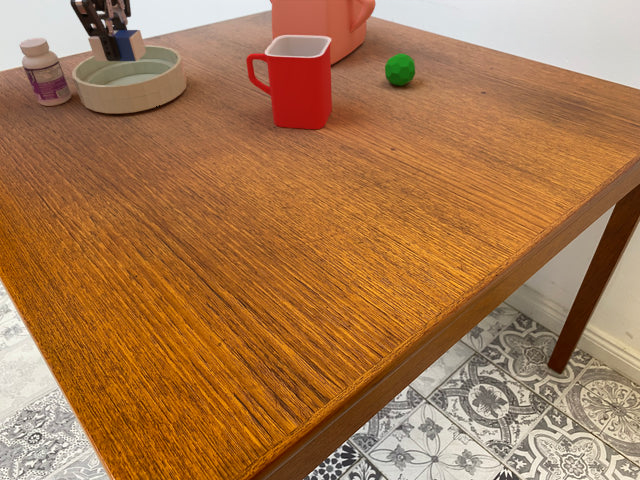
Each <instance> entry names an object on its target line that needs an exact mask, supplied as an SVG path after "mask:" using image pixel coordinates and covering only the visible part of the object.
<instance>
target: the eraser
mask: <svg viewBox="0 0 640 480" xmlns="http://www.w3.org/2000/svg"><path fill="white" fill-rule="evenodd" d="M114 35H115V37H116V41H117V44H118V48H119V51H120V54H121V59H120V60H119V61H138V60H139V59H140V58H141V57H142V56H143V55H144V54H145V53H146V50H145V47H144V45H145V43H144V40H143V36H142V33H141V30H139V29H127V30H119V31H114ZM87 40H88V43H89V46H90V49H91V52H92V54H93V55H92V56H94V58H95V61H108V60H107V59H106V56H105V54H104V51H103V47H102V44H101V41H100V39H99V37H90V36H88V38H87Z"/></svg>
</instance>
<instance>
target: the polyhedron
mask: <svg viewBox="0 0 640 480" xmlns="http://www.w3.org/2000/svg"><path fill="white" fill-rule="evenodd" d="M384 73H385V79H386V80H387V81H388V83H390V84H391V85H393V86H397V87H402V86H404V85H406V84H408V83H409V82H411V81H413V79H414V77H415V75H416V64H415V60H414V59H413V58H412V57H411V56H410V55H408V54H407V53H401V52H400V53H397V54H395V55H393V56H391V57H390V58H388V59H387V61H386V63H385V65H384Z"/></svg>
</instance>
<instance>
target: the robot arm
mask: <svg viewBox="0 0 640 480" xmlns="http://www.w3.org/2000/svg"><path fill="white" fill-rule="evenodd" d="M69 4H70V7H71V8H72V10H73V11H74V13H75V15H76V17H77V19H78V20H79V22H80V24H81V25H82V27H83V29H84V30H85V32H86V34H87V35H88V37H99V39H100V41H101V44H102V47H103V51H104V54H105V56H106V59H107V60H108V61H119V60H120V59H121V54H120V51H119V48H118V44H117V41H116V37H115V35H114V31H119V30H128V27H127V26H128V24H129V21H128V18H131V17H132V7H131V0H70V1H69ZM98 12H103V13H98ZM103 21H104V22H103Z"/></svg>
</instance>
